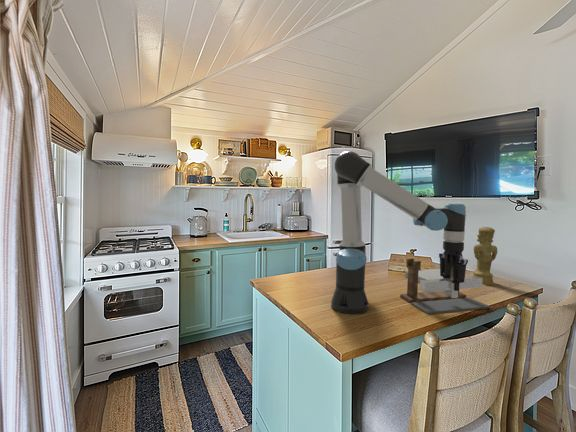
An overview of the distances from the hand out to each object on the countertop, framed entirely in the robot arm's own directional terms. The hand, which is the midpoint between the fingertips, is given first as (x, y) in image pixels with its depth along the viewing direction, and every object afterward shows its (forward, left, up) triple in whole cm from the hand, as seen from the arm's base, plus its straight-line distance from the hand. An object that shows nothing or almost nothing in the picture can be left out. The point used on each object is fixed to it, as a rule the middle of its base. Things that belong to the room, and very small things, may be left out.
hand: (450, 296), depth 122 cm
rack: (0, +10, -4) cm, 11 cm away
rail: (0, 0, +3) cm, 3 cm away
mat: (0, 0, -4) cm, 4 cm away
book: (+20, +34, -5) cm, 40 cm away
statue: (+43, +25, -5) cm, 50 cm away
